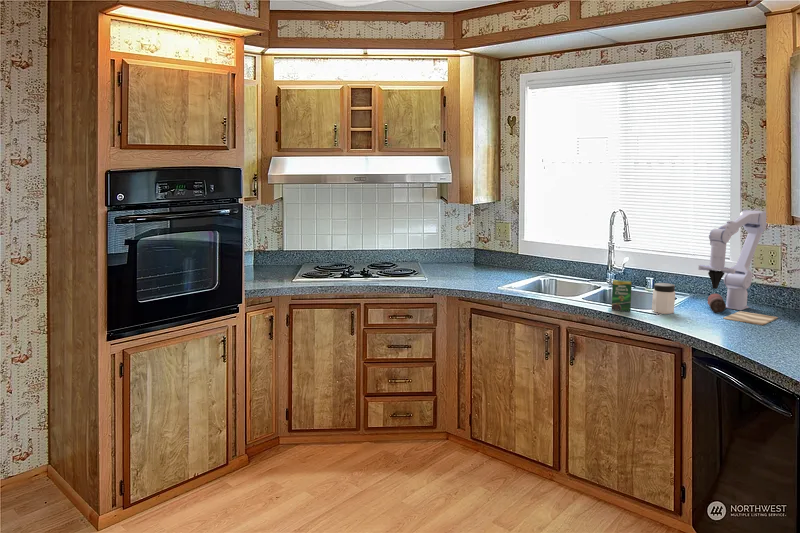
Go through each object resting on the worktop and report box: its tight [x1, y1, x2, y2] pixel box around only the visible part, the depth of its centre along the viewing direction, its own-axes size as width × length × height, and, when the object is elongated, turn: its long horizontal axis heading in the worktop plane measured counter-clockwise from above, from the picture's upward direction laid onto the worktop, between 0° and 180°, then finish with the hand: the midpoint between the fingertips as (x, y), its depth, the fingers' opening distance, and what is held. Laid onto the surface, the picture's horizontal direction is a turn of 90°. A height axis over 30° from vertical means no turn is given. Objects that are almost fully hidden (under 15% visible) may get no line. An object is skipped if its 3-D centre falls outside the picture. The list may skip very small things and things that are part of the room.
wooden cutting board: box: [723, 310, 779, 326], centre depth 276 cm, size 18×15×1 cm
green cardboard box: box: [611, 279, 633, 313], centre depth 288 cm, size 8×3×13 cm, turn 66°
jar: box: [651, 282, 676, 315], centre depth 285 cm, size 9×8×12 cm
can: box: [707, 293, 727, 314], centre depth 291 cm, size 6×6×14 cm
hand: (715, 288), depth 285 cm, fingers closed
